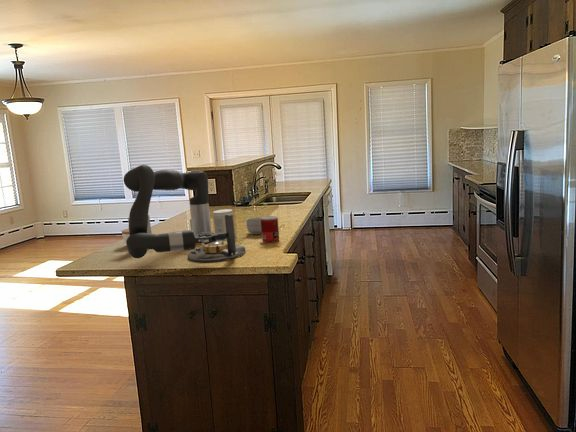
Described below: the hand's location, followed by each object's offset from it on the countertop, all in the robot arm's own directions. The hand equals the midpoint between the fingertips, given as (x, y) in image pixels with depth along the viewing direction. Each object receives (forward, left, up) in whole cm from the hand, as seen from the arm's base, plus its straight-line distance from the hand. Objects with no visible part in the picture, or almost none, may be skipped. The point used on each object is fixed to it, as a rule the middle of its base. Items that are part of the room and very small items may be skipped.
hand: (226, 235), depth 182 cm
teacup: (-15, +49, -10) cm, 52 cm away
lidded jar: (-65, +13, -10) cm, 67 cm away
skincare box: (-54, +7, -10) cm, 55 cm away
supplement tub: (-23, +30, -10) cm, 39 cm away
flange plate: (-11, +7, -10) cm, 16 cm away
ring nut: (-7, +5, -8) cm, 12 cm away
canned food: (-1, +35, -10) cm, 36 cm away
